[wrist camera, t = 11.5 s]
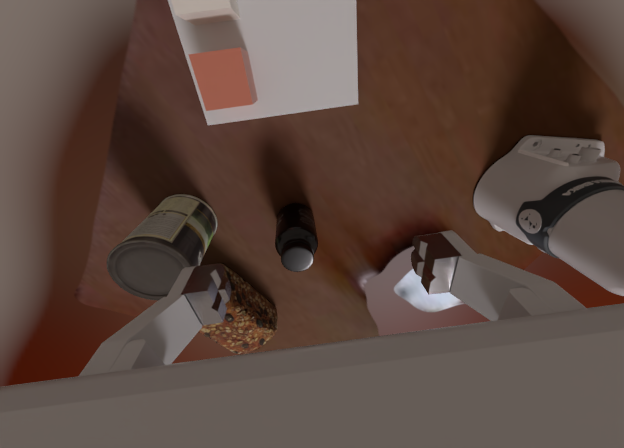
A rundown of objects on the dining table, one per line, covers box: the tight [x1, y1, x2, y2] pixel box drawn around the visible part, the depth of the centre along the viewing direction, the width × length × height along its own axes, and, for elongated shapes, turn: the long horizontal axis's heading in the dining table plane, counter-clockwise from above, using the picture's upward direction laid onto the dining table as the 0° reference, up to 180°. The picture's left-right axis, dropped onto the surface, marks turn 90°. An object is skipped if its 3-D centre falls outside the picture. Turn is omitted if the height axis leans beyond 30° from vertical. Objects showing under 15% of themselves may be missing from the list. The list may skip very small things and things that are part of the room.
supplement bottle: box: [275, 203, 318, 272], centre depth 41 cm, size 7×7×12 cm
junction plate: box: [168, 0, 358, 125], centre depth 32 cm, size 22×18×1 cm
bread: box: [198, 263, 278, 355], centre depth 51 cm, size 19×11×10 cm, turn 32°
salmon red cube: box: [188, 47, 258, 111], centre depth 31 cm, size 6×6×6 cm
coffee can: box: [107, 194, 217, 300], centre depth 38 cm, size 10×10×14 cm
